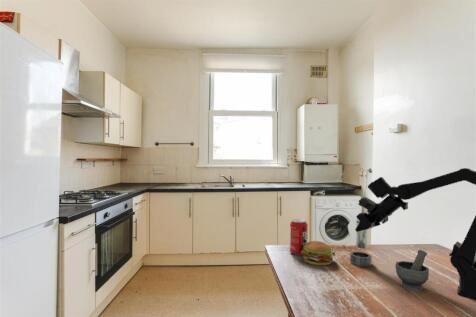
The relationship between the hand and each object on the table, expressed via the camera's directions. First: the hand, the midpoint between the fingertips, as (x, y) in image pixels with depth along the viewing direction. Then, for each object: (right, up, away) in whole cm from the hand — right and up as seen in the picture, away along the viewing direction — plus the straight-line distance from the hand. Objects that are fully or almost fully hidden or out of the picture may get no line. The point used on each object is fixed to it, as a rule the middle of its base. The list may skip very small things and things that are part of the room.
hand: (358, 229), depth 116 cm
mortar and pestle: (+9, -14, -22) cm, 27 cm away
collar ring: (0, -13, -1) cm, 14 cm away
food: (-17, -13, 0) cm, 22 cm away
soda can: (-23, -13, +10) cm, 28 cm away
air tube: (+1, -7, -1) cm, 7 cm away
